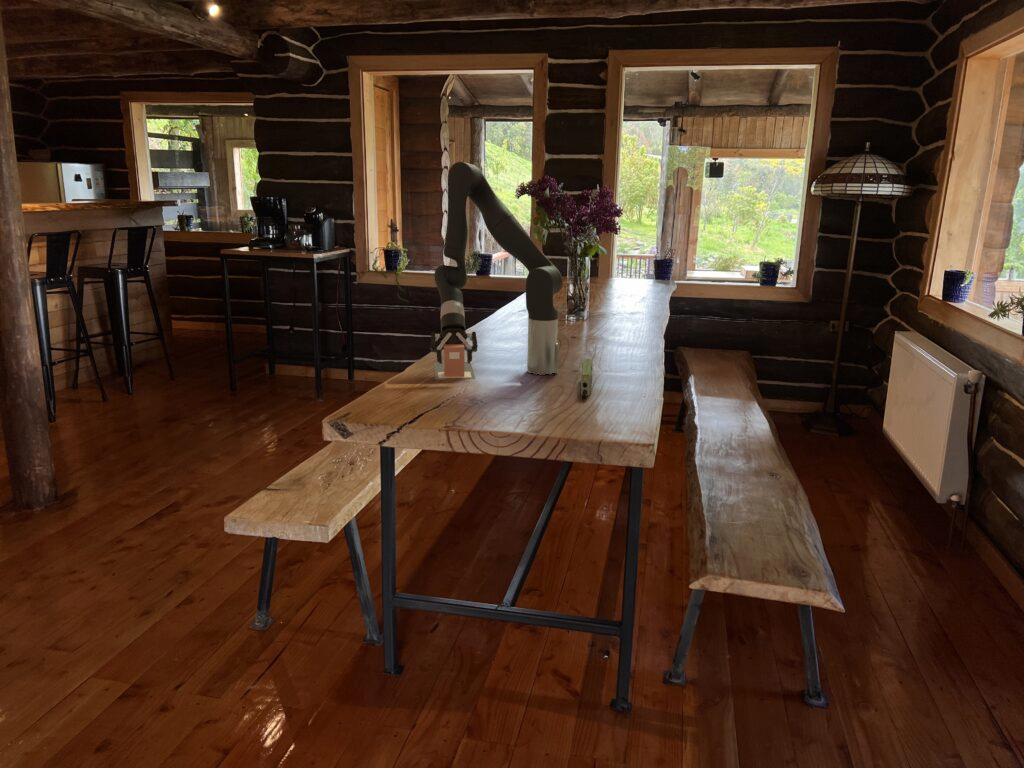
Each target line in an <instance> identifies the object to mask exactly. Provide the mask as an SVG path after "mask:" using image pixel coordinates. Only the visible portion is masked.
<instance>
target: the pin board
mask: <svg viewBox="0 0 1024 768" xmlns="http://www.w3.org/2000/svg"><path fill="white" fill-rule="evenodd" d="M471 362H472V361H471ZM471 362H470V364H468V363H467V361H464V376H454V377H445V376H444V361H443V362H442V364H439V362H437V361H436V362H433V369H434V370H433V371H434V380H436V381H438V380H441V381H442V380H475V379H476V375H475V372H474V369H473V367H472V366H473V365H472V363H471Z"/></svg>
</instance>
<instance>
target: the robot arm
mask: <svg viewBox="0 0 1024 768" xmlns="http://www.w3.org/2000/svg"><path fill="white" fill-rule="evenodd" d="M468 198H469V199H470V200H471V201H472V202H473V203H474V205H475V206H476V207H477V208H478V210H479V212H480V214H481V217H482V220H483V222H484V225H485V227H486V229H487V231H488V232H489V233H490V235H491V236H492V238H493V239H494V240H495V241H496V243H497V244H498V245H499V246H500V248H502V249H503V250H504V251H505V252H507V254H509V255H511V256H512V257H513V258H515V260H517V261H519V262H520V263H521V264H522V265H523V266H524V267H525V268H526V270H527V271H528V274H527V277H526V279H525V306H526V308H525V309H526V310H527V313H528V314H527V315H528V317H527V323H528V325H527V366H526V367H527V368H526V369H527V371H528V372H527V373H529V374H531V373H533V374H532V375H537V374H539V375H540V376H546V375H545V374H549V375H553V374H552V373H555V374H558V370H559V368H558V367H559V343H558V325H559V324H558V323H559V322H558V321H559V312H558V309H557V308H555V306H554V296H555V295H556V294H558V293H559V292H560V291H562V288H563V284H564V280H563V279H564V278H563V276H562V272H560V270H559V269H558V268H557V266H556V265H554V263H552V262H551V260H550V259H549V258H548V257H546V255H545V254H544V253H543V252H542V250H540V248H539V247H538V246H537V245H536V243H535V242H534V240H533V238H531V236H530V235H529V234H528V233H527V231H526V230H525V228H524V227H523V226H522V224H521V223H520V222H519V220H518V219H517V217H516V216H515V215H514V214H513V213H512V212H511V210H510V209H509V208H508V206H506V205H505V203H504V202H503V201H502V200H501V198H499V197H498V195H497V194H496V193H495V191H494V190H493V188H492V187H491V185H490V183H489V182H488V180H487V178H486V177H485V175H484V173H483V172H482V171H481V169H480V168H479V167H478V166H476V165H474V164H472V163H468V162H466V161H456V162H455V163H454V164H452V165H451V166H450V168H449V170H448V173H447V219H446V220H447V221H446V223H447V224H446V231H445V239H444V245H443V246H444V247H443V256H444V257H446V258H447V259H450V260H453V261H454V262H455V263H456V266H455V265H446V264H441V265H438V266H437V268H435V271H434V275H433V277H434V283H435V285H436V288H437V289H438V292H439V296H440V317H439V318H440V319H439V320H440V333H436V332H435V331H431V333H430V334H431V335H430V352H431V353H435V354H436V363H437V362H439V364H442V361H443V360H442V358H443V356H442V352H444V345H445V344H464V352H465V353H466V357H467V358H466V359H467V360H466V362H467V363H468V364H470V362H472V361H473V353H477V351H478V347H479V346H478V339H477V332H476V331H472V332H470V333H467V332H466V320H465V319H466V317H465V315H466V313H465V309H464V297H463V292H462V291H461V290H462V289H464V288H465V286H466V285H467V282H468V273H467V266H466V252H467V251H466V250H467V244H468V237H469V235H468V233H469V232H468V231H469V230H468V229H469V228H468V221H467V201H468V200H467V199H468ZM439 339H440V344H439V345H438V346H436V342H438V340H439ZM467 339H469V341H471V342H472V343H471V344H472V346H471V345H470V343H468V341H467ZM539 375H538V376H539Z"/></svg>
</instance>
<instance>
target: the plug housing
mask: <svg viewBox="0 0 1024 768" xmlns="http://www.w3.org/2000/svg"><path fill="white" fill-rule="evenodd" d="M443 362H444V376H445V377H454V376H464V362H465V350H464V344H445V345H444V350H443Z"/></svg>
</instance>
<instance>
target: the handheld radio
mask: <svg viewBox="0 0 1024 768" xmlns="http://www.w3.org/2000/svg"><path fill="white" fill-rule="evenodd" d="M580 386H581V387H580V395H581V399H582V400H586V399H587V396H590V395H591V390H592V388H593V387H592V386H593V359H592V358H585V359H584V360H583V361H582V364H581V373H580Z"/></svg>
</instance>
